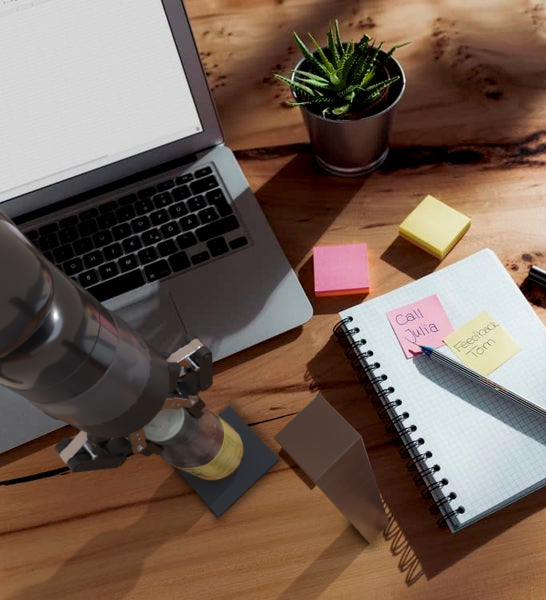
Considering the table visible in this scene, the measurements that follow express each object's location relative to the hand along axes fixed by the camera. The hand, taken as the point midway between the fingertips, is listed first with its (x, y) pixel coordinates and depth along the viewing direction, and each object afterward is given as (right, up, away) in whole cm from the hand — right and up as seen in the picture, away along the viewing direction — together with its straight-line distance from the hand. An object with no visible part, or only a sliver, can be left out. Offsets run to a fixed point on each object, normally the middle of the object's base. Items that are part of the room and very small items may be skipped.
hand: (174, 427), depth 60 cm
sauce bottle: (0, -6, +14) cm, 15 cm away
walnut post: (+17, -13, +13) cm, 25 cm away
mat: (0, -7, +16) cm, 18 cm away
